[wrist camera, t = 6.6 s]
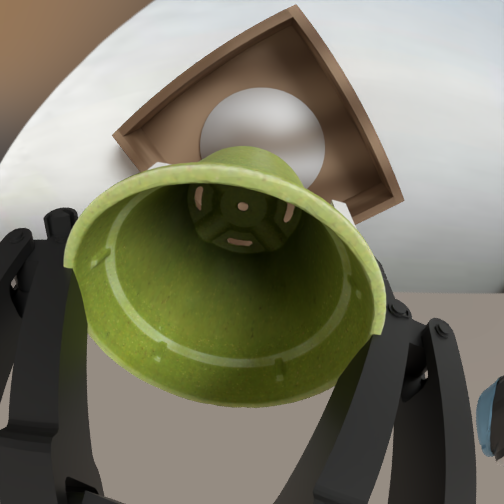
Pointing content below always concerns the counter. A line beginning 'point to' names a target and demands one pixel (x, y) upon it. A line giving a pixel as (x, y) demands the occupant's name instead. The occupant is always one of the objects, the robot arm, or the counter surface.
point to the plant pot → (226, 281)
